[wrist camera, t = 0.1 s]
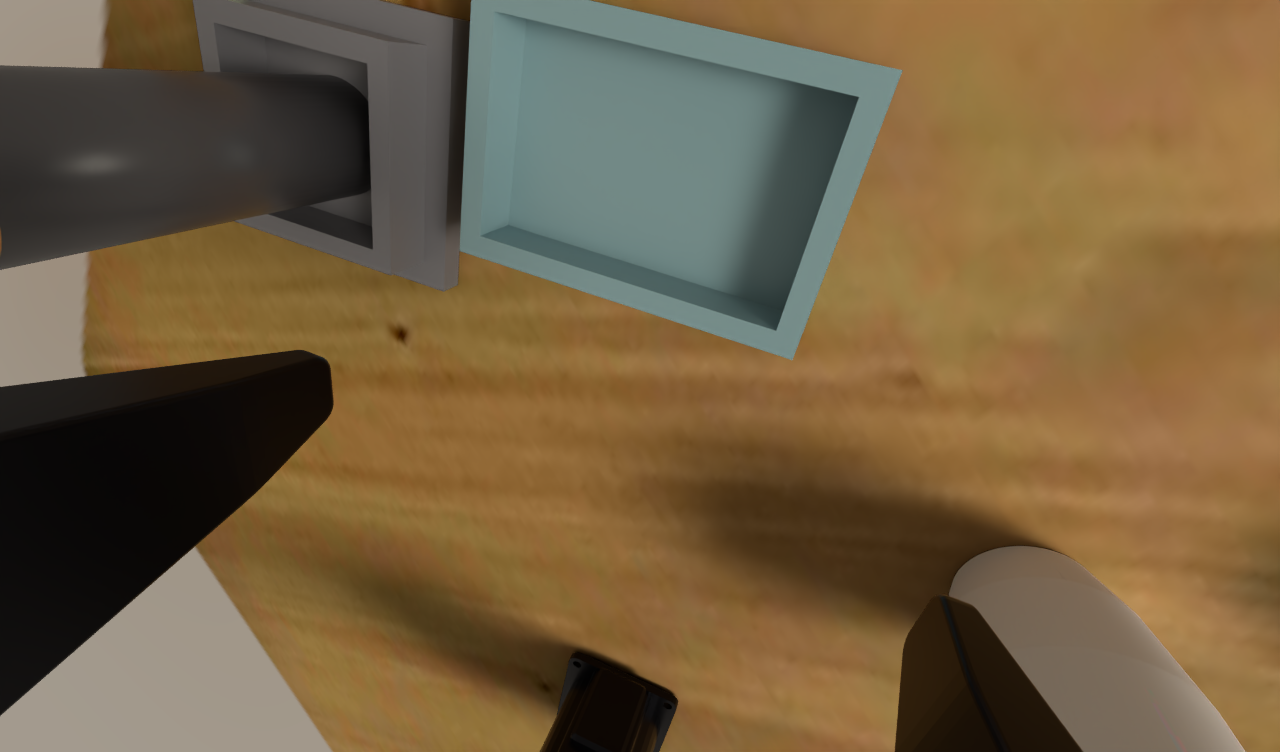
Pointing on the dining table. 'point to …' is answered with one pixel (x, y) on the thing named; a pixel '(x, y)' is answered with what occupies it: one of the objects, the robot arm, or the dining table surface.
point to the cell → (166, 153)
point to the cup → (1090, 655)
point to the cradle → (398, 121)
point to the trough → (664, 161)
